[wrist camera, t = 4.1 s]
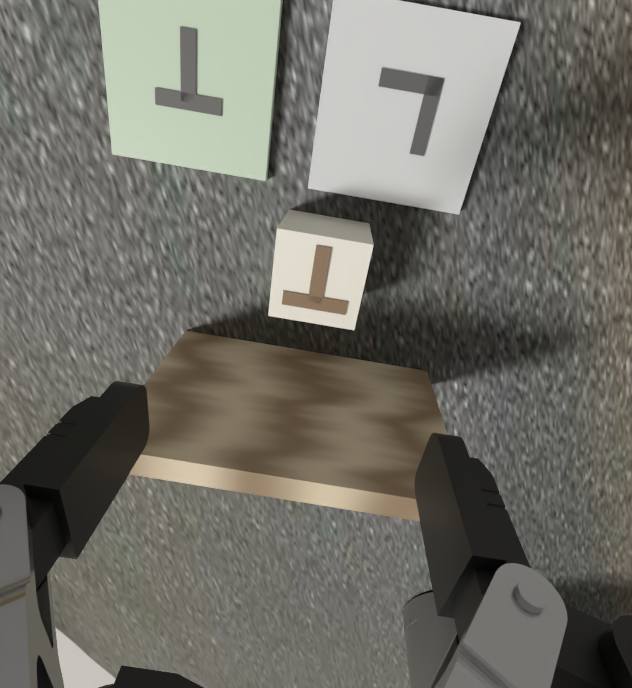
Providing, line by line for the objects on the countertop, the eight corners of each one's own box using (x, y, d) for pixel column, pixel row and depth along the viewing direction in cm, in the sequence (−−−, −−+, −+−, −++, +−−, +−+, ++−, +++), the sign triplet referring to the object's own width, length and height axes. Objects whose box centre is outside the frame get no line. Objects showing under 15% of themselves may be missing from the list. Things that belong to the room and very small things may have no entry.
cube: (369, 222, 25) (373, 245, 20) (353, 296, 27) (354, 331, 23) (289, 209, 25) (276, 228, 20) (280, 284, 27) (267, 316, 23)
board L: (516, 24, 20) (521, 21, 19) (456, 212, 24) (459, 214, 23) (335, -8, 19) (334, -13, 19) (308, 186, 24) (307, 188, 23)
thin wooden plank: (427, 370, 29) (470, 507, 19) (421, 387, 30) (460, 527, 20) (185, 330, 29) (96, 447, 19) (186, 347, 30) (99, 469, 20)
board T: (284, -18, 19) (282, -22, 19) (267, 179, 24) (265, 181, 23) (100, -51, 19) (91, -57, 19) (117, 153, 24) (111, 154, 23)
